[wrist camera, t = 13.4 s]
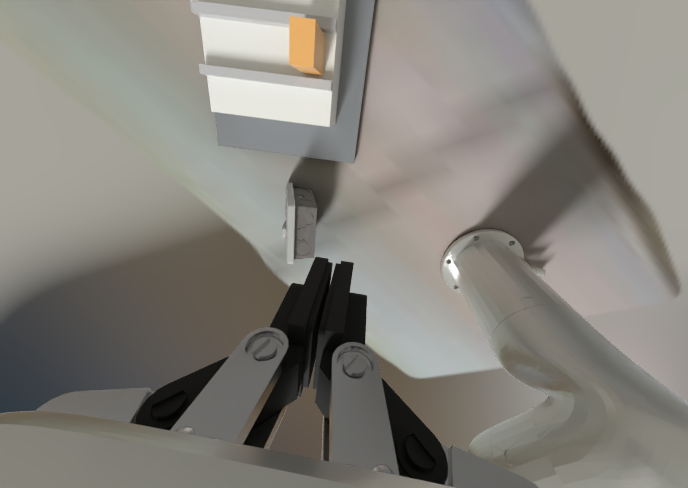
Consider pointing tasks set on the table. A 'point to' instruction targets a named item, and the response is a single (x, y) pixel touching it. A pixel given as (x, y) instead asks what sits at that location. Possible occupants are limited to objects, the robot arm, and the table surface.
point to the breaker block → (285, 75)
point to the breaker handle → (306, 45)
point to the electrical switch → (299, 223)
